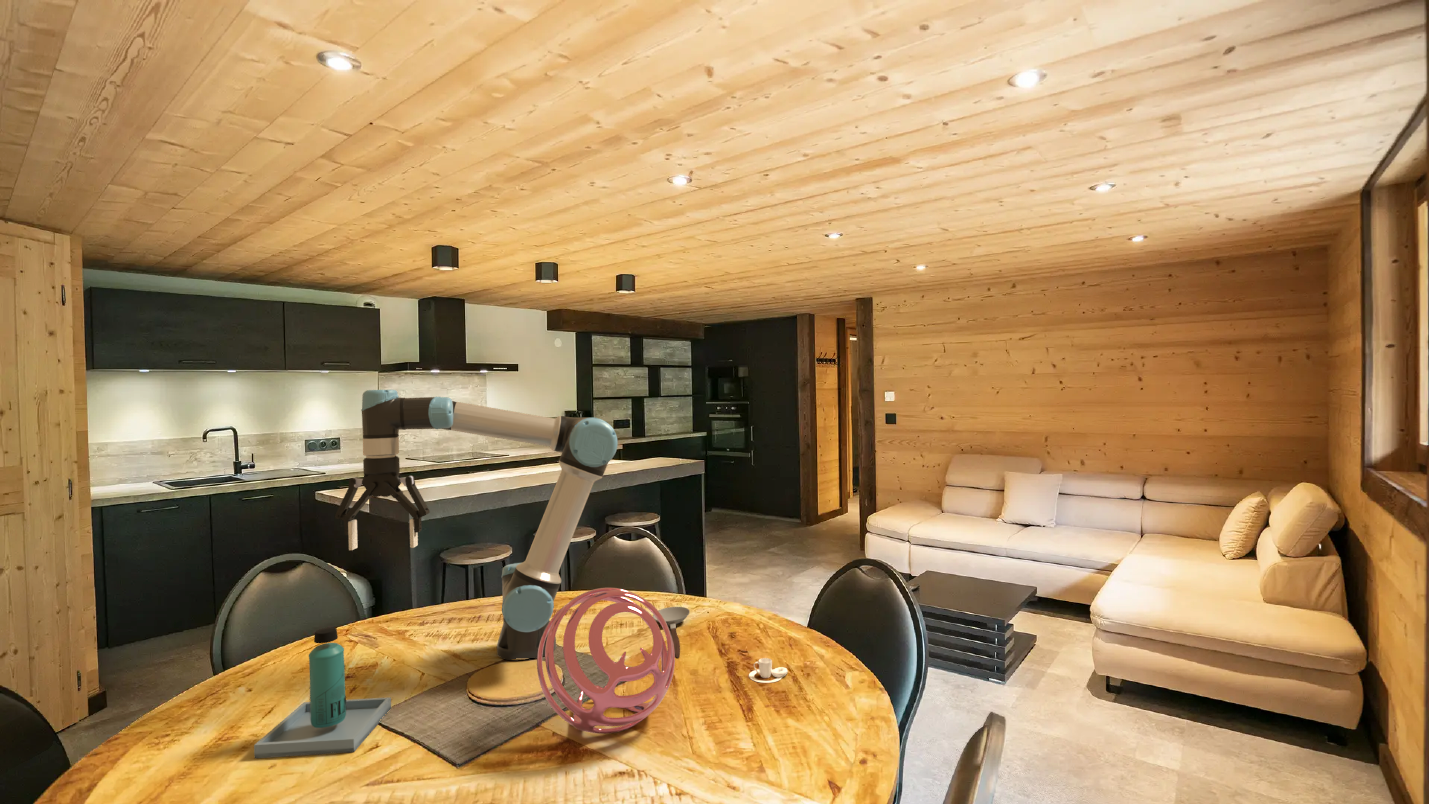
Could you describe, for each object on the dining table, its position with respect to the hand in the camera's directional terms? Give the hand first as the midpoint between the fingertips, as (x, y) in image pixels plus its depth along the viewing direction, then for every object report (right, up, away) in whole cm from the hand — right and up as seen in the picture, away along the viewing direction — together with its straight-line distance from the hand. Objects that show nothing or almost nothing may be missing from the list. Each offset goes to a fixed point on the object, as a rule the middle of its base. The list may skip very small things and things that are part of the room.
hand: (383, 547), depth 157 cm
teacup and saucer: (+90, -31, 0) cm, 96 cm away
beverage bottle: (-1, -32, -20) cm, 38 cm away
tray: (-2, -33, -20) cm, 39 cm away
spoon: (+65, -32, +31) cm, 79 cm away
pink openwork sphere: (+56, -32, -19) cm, 67 cm away
